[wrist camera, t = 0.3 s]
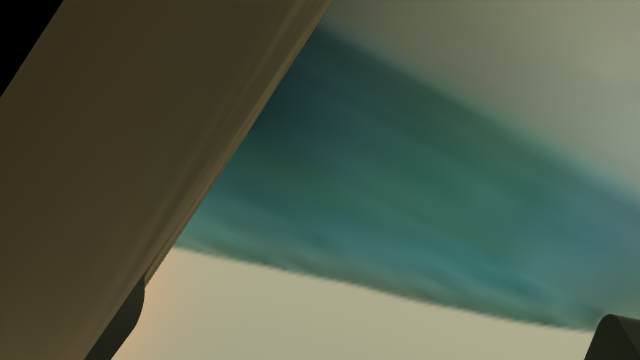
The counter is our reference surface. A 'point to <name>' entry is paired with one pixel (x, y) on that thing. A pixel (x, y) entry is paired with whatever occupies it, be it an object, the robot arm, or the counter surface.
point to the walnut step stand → (118, 144)
